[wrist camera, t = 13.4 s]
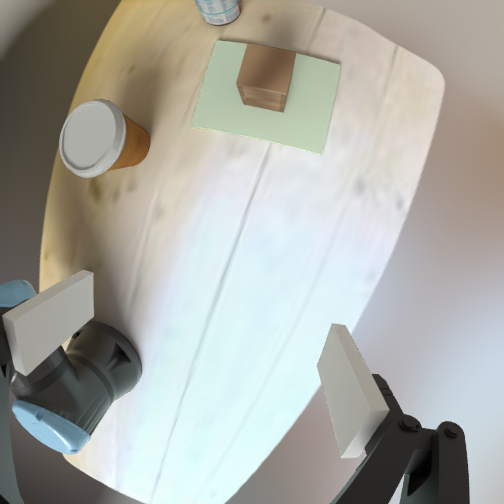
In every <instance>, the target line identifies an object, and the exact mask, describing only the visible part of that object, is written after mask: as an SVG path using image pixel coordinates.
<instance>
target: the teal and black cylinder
mask: <svg viewBox="0 0 504 504" xmlns="http://www.w3.org/2000/svg"><path fill="white" fill-rule="evenodd" d="M195 2H196V4H197V6H198V8H199V11H200V13H201V15H202V17H203V19H204V20H205V21H206V22H207V23H209V24H211V25H215V26H221V25H227V24H229V23H231V22H233V21H234V20H236V19H237V17H238V16H239V14H240V9H241V8H240V4H239V0H195Z"/></svg>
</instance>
